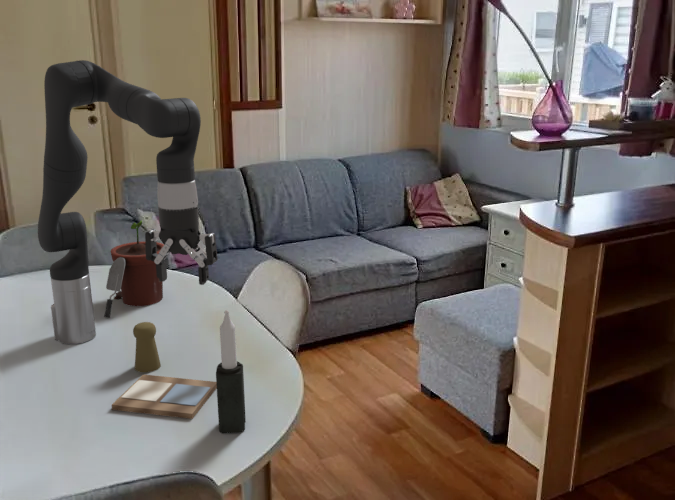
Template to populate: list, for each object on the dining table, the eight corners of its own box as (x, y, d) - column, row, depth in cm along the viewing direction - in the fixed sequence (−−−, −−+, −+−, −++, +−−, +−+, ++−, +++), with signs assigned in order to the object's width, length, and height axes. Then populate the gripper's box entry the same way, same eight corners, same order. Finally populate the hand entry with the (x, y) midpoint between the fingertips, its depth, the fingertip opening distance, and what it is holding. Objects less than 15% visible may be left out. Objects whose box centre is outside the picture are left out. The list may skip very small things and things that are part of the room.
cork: (153, 373, 159) (150, 330, 156) (129, 371, 160) (125, 328, 157) (165, 362, 164) (161, 320, 161) (142, 360, 166) (138, 318, 162)
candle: (220, 420, 139) (214, 305, 132) (245, 419, 139) (240, 305, 132) (218, 433, 134) (211, 315, 127) (244, 432, 135) (239, 315, 127)
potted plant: (179, 303, 202) (173, 222, 194) (105, 319, 190) (95, 233, 183) (159, 286, 216) (153, 209, 209) (89, 300, 205) (79, 219, 197)
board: (112, 409, 143) (111, 403, 143) (143, 379, 156) (143, 373, 156) (192, 419, 140) (192, 412, 139) (217, 386, 153) (217, 381, 152)
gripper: (134, 205, 130) (141, 285, 135) (205, 209, 128) (209, 291, 132) (152, 197, 137) (158, 273, 142) (219, 201, 135) (223, 278, 139)
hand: (183, 282), depth 137 cm, fingers open, 8 cm apart
